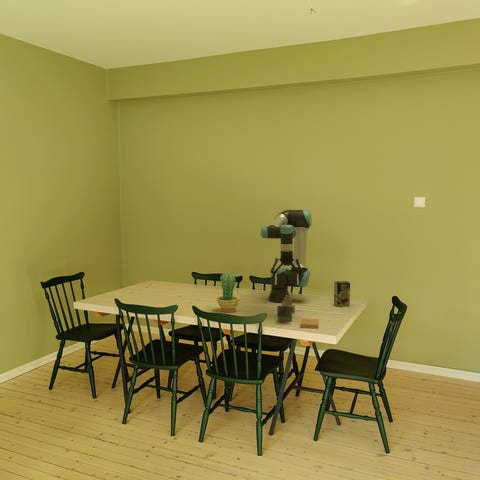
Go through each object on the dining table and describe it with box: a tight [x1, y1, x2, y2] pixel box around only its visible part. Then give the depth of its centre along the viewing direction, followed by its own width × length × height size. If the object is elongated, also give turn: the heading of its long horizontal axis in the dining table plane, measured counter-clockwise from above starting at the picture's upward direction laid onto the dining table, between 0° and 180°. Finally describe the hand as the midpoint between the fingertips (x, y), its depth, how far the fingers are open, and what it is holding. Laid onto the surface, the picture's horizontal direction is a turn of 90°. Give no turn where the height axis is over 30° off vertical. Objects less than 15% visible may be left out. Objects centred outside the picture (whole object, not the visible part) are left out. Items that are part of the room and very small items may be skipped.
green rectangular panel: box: [299, 318, 320, 329], centre depth 271 cm, size 10×2×12 cm
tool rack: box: [277, 304, 296, 322], centre depth 290 cm, size 8×24×4 cm, turn 169°
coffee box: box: [333, 280, 351, 308], centre depth 314 cm, size 9×6×16 cm
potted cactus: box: [216, 271, 241, 313], centre depth 305 cm, size 15×15×25 cm
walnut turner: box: [276, 294, 293, 317], centre depth 289 cm, size 8×30×6 cm, turn 169°
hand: (286, 284), depth 289 cm, fingers open, 13 cm apart
